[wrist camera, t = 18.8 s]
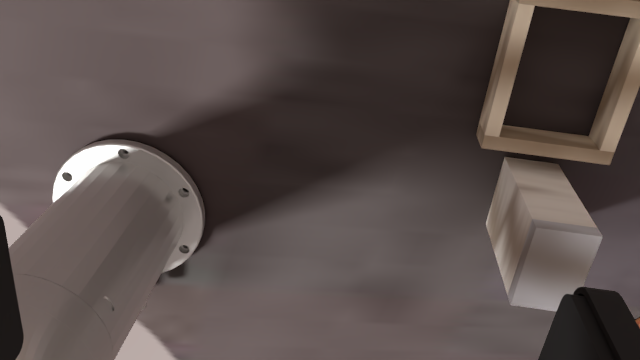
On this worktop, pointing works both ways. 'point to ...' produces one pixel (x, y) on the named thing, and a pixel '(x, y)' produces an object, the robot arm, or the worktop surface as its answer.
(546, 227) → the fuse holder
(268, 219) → the worktop surface
